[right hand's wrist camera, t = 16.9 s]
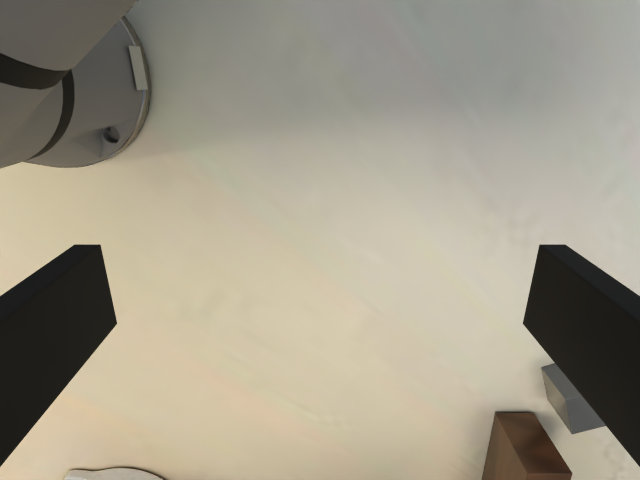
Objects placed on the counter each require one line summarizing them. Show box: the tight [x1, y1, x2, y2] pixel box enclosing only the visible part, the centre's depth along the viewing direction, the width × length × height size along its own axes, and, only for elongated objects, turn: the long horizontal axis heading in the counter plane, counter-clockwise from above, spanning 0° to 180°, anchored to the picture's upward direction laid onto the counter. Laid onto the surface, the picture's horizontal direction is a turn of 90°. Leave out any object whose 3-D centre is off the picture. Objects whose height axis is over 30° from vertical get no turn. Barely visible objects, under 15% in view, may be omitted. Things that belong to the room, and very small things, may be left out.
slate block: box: [542, 364, 606, 434], centre depth 45 cm, size 5×5×5 cm
